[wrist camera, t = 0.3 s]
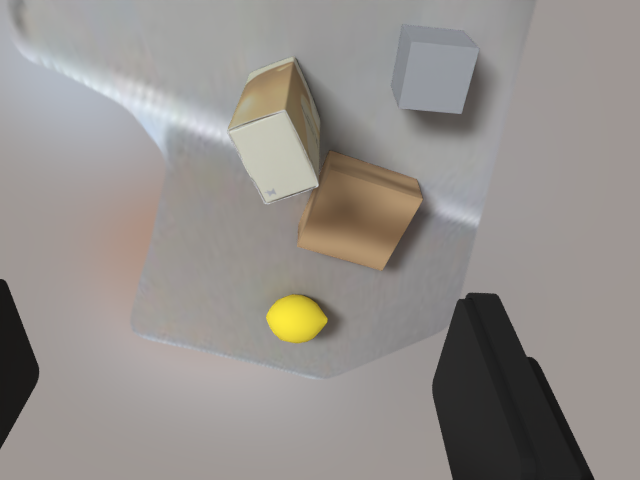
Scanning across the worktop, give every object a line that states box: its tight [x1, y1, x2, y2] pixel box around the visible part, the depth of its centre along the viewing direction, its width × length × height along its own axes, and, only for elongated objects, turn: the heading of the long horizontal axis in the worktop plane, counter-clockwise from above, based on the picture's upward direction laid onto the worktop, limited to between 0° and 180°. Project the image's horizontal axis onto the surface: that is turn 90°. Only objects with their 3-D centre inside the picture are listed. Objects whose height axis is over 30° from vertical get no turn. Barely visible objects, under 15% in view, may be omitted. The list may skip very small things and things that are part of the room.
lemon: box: [266, 294, 328, 343], centre depth 56 cm, size 7×5×5 cm
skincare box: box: [227, 56, 320, 204], centre depth 38 cm, size 6×4×12 cm
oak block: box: [297, 150, 423, 271], centre depth 48 cm, size 9×9×4 cm
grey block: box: [391, 24, 480, 114], centre depth 39 cm, size 5×5×5 cm
